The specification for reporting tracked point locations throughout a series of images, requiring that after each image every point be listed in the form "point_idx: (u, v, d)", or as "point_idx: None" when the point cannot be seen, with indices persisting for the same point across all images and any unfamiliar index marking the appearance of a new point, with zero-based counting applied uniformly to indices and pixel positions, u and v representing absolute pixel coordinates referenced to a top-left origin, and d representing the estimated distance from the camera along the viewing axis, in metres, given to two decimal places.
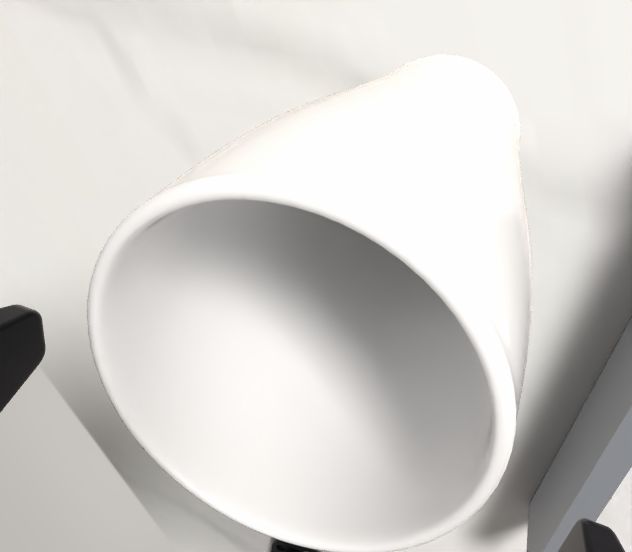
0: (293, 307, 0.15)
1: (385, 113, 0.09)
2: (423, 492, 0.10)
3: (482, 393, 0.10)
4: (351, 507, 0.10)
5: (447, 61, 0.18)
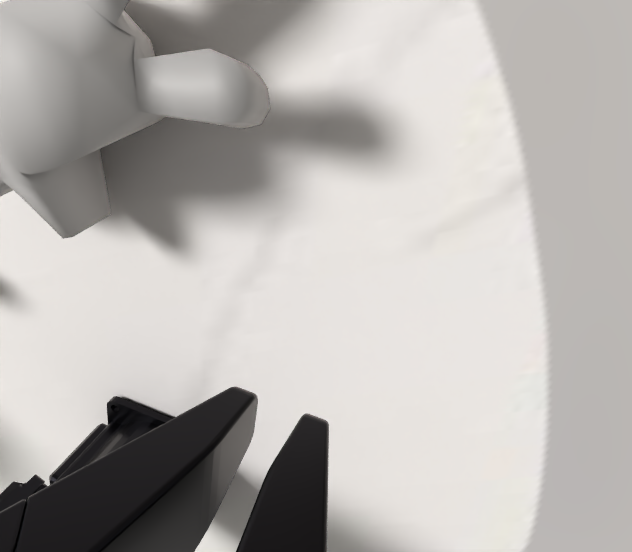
0: None
1: None
2: None
3: None
4: None
5: None
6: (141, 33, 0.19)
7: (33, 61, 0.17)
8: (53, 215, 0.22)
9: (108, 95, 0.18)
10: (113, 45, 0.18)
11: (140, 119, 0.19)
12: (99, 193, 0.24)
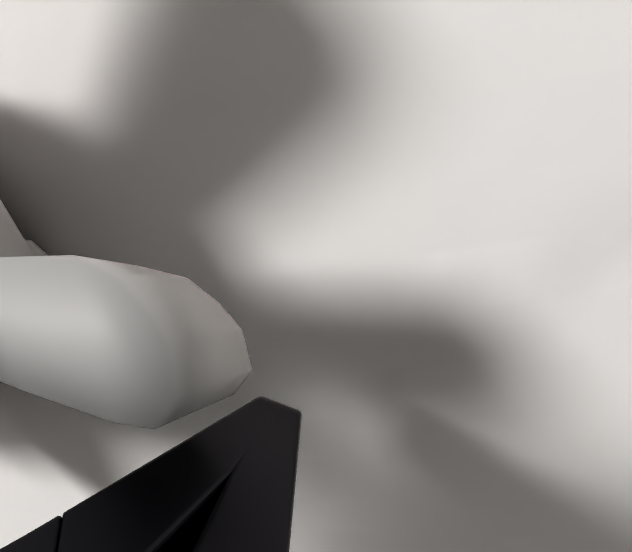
0: None
1: None
2: None
3: None
4: None
5: None
6: None
7: None
8: None
9: None
10: None
11: None
12: None
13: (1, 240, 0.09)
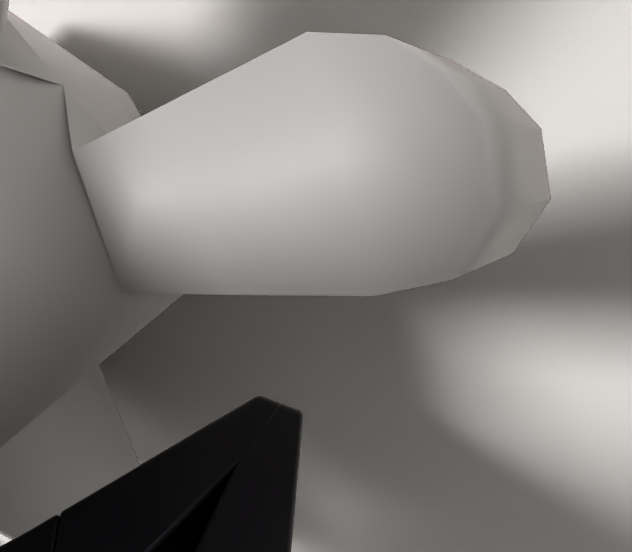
0: None
1: None
2: None
3: None
4: None
5: None
6: (96, 79, 0.07)
7: None
8: (9, 535, 0.10)
9: (17, 277, 0.06)
10: None
11: (134, 312, 0.07)
12: (106, 440, 0.11)
13: None
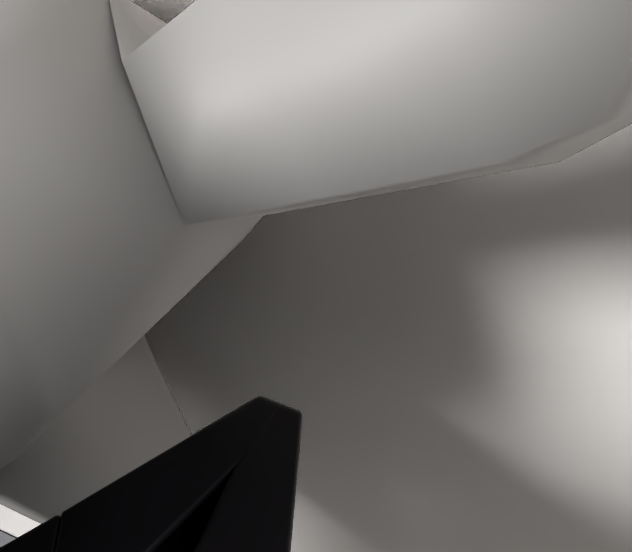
0: None
1: None
2: None
3: None
4: None
5: None
6: (137, 5, 0.06)
7: None
8: None
9: (71, 204, 0.05)
10: (39, 31, 0.05)
11: (199, 248, 0.06)
12: (164, 428, 0.11)
13: None
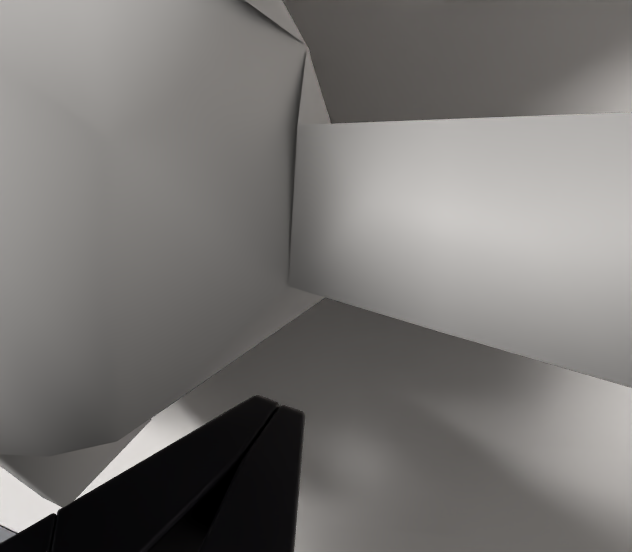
0: None
1: None
2: None
3: None
4: None
5: None
6: None
7: None
8: (17, 473, 0.09)
9: (204, 252, 0.05)
10: (234, 74, 0.05)
11: (288, 306, 0.06)
12: None
13: None
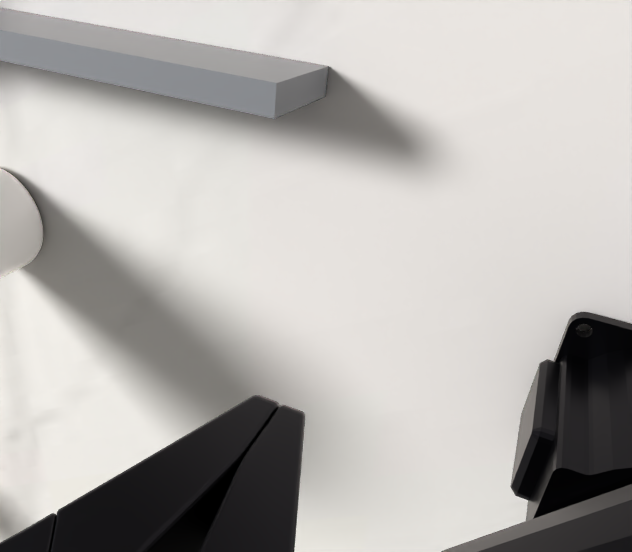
0: None
1: None
2: None
3: None
4: None
5: None
6: None
7: None
8: None
9: None
10: None
11: None
12: None
13: None
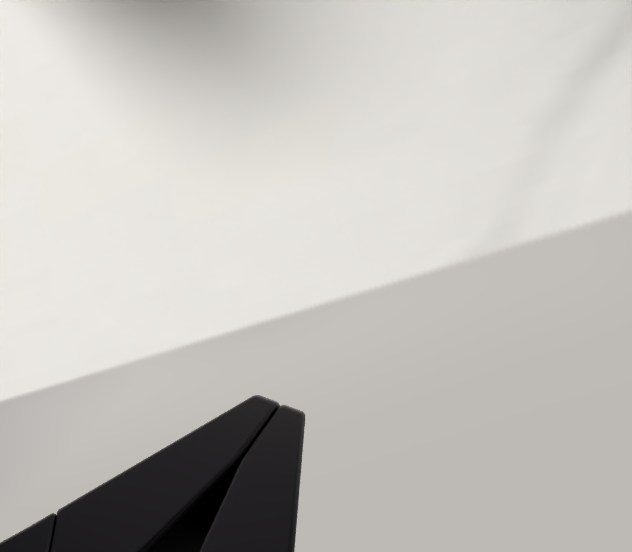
0: None
1: None
2: None
3: None
4: None
5: None
6: None
7: None
8: None
9: None
10: None
11: None
12: None
13: None
